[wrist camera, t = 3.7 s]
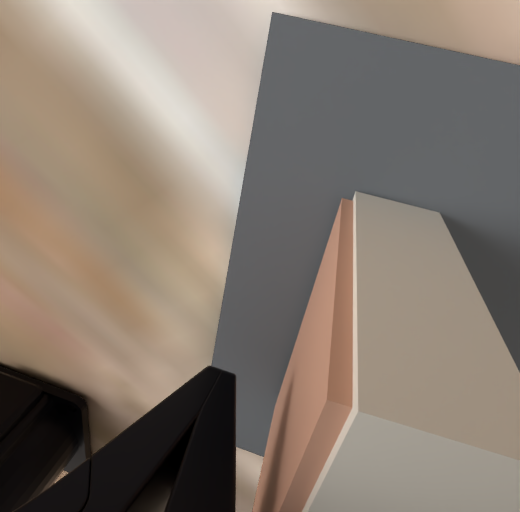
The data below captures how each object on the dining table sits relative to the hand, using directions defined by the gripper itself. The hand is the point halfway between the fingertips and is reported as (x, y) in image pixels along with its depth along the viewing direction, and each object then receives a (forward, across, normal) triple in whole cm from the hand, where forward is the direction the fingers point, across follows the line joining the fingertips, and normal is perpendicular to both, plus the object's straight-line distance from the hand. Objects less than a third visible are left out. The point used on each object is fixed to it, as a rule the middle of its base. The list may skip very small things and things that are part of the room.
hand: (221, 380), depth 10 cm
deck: (+4, -3, 0) cm, 5 cm away
